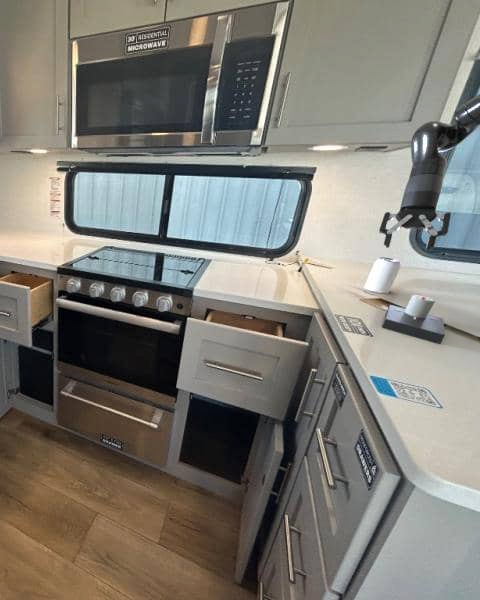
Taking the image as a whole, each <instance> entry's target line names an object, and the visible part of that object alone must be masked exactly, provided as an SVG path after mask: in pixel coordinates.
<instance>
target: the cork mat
mask: <svg viewBox="0 0 480 600" xmlns="http://www.w3.org/2000/svg"><path fill="white" fill-rule="evenodd" d="M359 301H360V302H364V303H366V304H368V305H370V306H373V307H375V306H376V308H378V309H380V310H382V309H383V311H385V312H387V309H388V307H389V305H393V306H397V307H401V308H405V309H406V308H407V307H405V306H402V305H399V304H396V303H394V302H392V301H389V300H386V299H384V298H381V297H380V298H379V297H374V298H373V297H372V298H371V297H369V298H368V297H367V298H359Z"/></svg>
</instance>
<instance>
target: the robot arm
mask: <svg viewBox="0 0 480 600" xmlns="http://www.w3.org/2000/svg"><path fill="white" fill-rule="evenodd" d="M453 118H454V121H455V122H454V123H452V124H451V123H446V122H442V121H437V120H430V121H427V122H424V123H423V124H421V126H419V127H418V128H417V129H416V130H415V132H414V133H413V135H412V137H411V140H410V153H411V154H410V155H411V163H412V167H411V170H410V172H409V173H410V174H409V178H408V181H407V182H406V185H405V188H404V191H403V196H402V198H401V199H402V200H401V204H400V207H399V211H398V212H397V213H391V212H389V211H386V212H385V213H384V215H383V218H382V221H381V223H380V227H379V233H380V234H383V235H385V238H384V242H383V246H385V248H386V249H390V246H391V241H392V238H393V235H394V234H395V233H396V232H398V231H399V230H401V229H402V228H403V229H404V230H405V229H406V230H411V229H414V230H420V229H423V230H424V231H425V232H426V233H427V234H428V235H429V236H428V240H427V243H426V247H425V251H430V249H433V248H434V247H435V245H436V240H437V238H438V237H444V236H446V235H447V234H448V233H449V227H450V222H451V216H452V213H450V212H445V213H437V212H436V211H437V207H438V203H439V199H440V196H441V193H442V188H443V185H444V184H443V183H444V175H445V172H446V168H447V164H448V160H447V158H446V157H445V156H444V155H442V154H441V153H443V152H447V151H449V150H452V149H454V148H455V147H457V146H458V145H460V144H461V143H462V142H463V141H464V140H466V139H467V138H468V137H469V136H470V135H472V134H473V133H474V132H475V131H476V130H477V129H478V128H480V93H478V94H477V95H476V96H474V97H472V98H471V99H470V100H468V101H467V102H465V103H464V104H462V105H461V106H459V107H458V108H457V109H456V110H455V112H454V113H453ZM394 218H395V219H396V221H398V222H397V223H395V224H394V225H393V226H392V227H390V228H389V229H387V226H388V223H389V222H391V221H392V220H393V219H394ZM436 219H437V220H438V222H439V223H441V228H440V230H436V229H435V227H434V225H433V224H432V222H433V221H434V220H436Z"/></svg>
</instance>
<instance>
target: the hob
mask: <svg viewBox="0 0 480 600" xmlns="http://www.w3.org/2000/svg"><path fill="white" fill-rule="evenodd" d="M405 308H406V307H404V308H401V307H397V306H393V305H389V307H388V309H387V311H385V315H384V319H383V321H382V326H381V328H383V329H386V330H389V331H392V332H395V333H399V334H403V335H407V336H411V337H414V338H418V339H420V340H425V341H428V342H431V343H435V344H438V345H440V344H441V343H442V341H443V340H444V338H445V336H446V333H445V324H444V318H443V317H440V316H437V315H432V314H429V313H428V315H427V317H426V318H418V317H414V316H411V315H408V314H406V313H405V310H406V309H405Z"/></svg>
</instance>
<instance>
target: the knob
mask: <svg viewBox="0 0 480 600" xmlns="http://www.w3.org/2000/svg"><path fill="white" fill-rule="evenodd" d="M435 302H436V300H435V299H434V298H432V297H429V296H425V295H421V294H412V296H411V298H410V300H409V302H408V303H407V306H406V307H405V308H406V310H405V313H406V314H408V315H411V316H414V317H418V318H426V317H427V315H428V314H429V313H430V312H431V310H432V308H433V306H434V304H435Z"/></svg>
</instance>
